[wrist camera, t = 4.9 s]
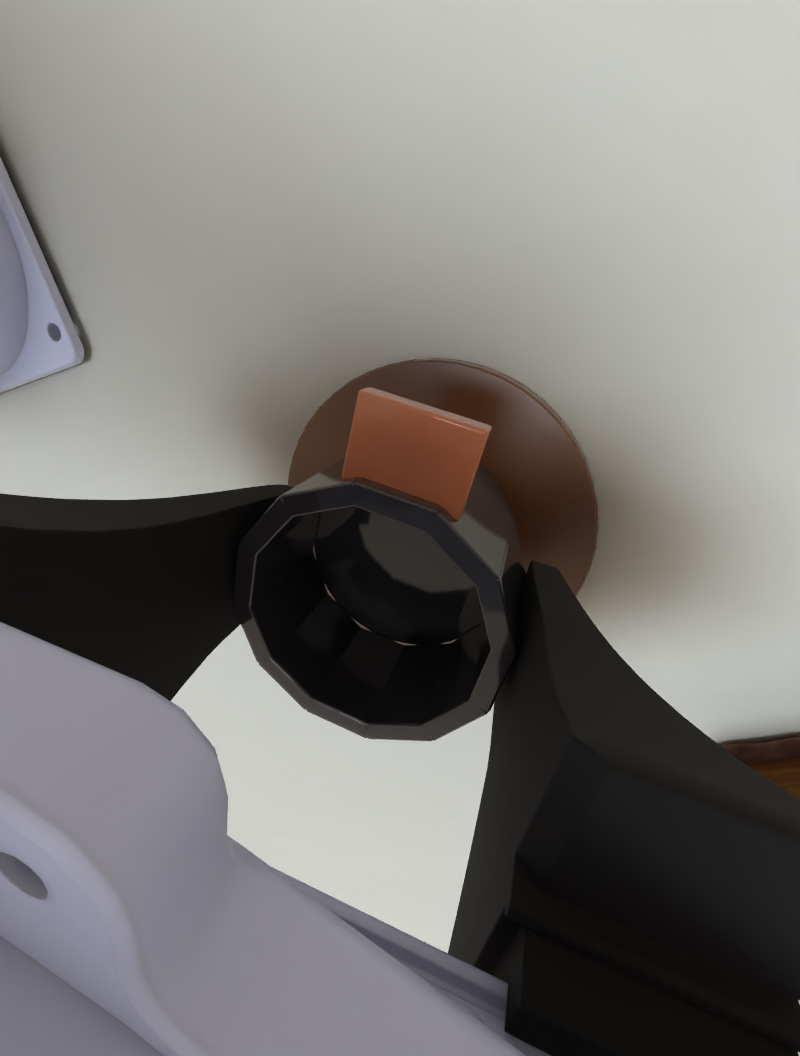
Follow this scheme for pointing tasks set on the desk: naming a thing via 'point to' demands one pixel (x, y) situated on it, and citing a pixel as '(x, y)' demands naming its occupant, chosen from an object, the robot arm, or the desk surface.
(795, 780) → the book
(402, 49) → the desk surface
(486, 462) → the brown flat disc
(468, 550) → the dark grey cup
